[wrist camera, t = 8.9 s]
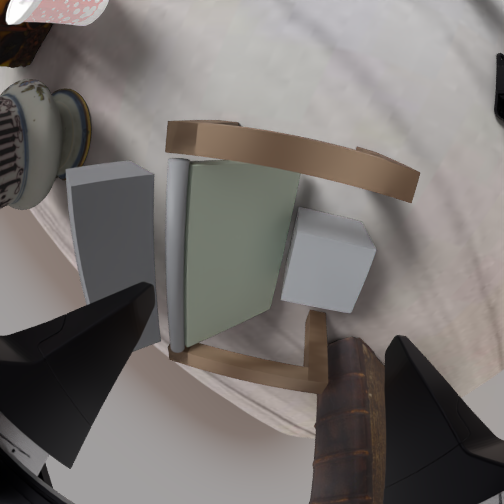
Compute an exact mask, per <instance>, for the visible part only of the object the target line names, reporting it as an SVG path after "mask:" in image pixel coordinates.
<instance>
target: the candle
mask: <svg viewBox="0 0 504 504" xmlns="http://www.w3.org/2000/svg"><path fill="white" fill-rule="evenodd" d="M10 1H11V0H0V66H6V67H11V68H15V67H19V66H23V67H26V66H28V65H30V63H31V61H32V60H33V58H34V56H35V54H36V52H37V50H38V48H39V46H40V45H41V43H42V41H43V40H44V38H45V36H46V34H47V33H48V31H49V29H50V27H51V25H52V24H53V23H46V22H22V23H21V24H12V25H8V23H7V22H6V12H7V9H8V6H9V3H10Z"/></svg>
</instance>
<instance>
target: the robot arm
mask: <svg viewBox="0 0 504 504" xmlns="http://www.w3.org/2000/svg"><path fill="white" fill-rule="evenodd" d="M501 58H502V59H501ZM499 111H500V113H499ZM494 112H495V114H496V116H497V117H499V118H500V119H502V120H503V121H504V55H503V54H502V53H498V54H497V74H496V95H495V106H494ZM154 307H155V291H154V285H153V284H152V283H148V282H144V281H143V282H140V283H138V284H135V285H133V286H130V287H128V288H126V289H123V290H121V291H119V292H116V293H114V294H111V295H109V296H107V297H104V298H102V299H100V300H97V301H95V302H93V303H90V304H88V305H86V306H84V307H81V308H79V309H76V310H74V311H72V312H69V313H67V315H66V314H65V315H62V316H60V317H58V318H55V319H53V320H51V321H48V322H46V323H43V324H40V325H37V326H35V327H31V328H28V329H26V330H23V331H20V332H16V333H14V334H11V335H7V336H0V504H74V503H73V502H71V501H70V500H68V499H67V498H65V497H64V496H62V495H61V494H60V493H58V492H57V491H55V490H54V489H53V487H52V484H51V480H50V477H49V474H48V471H47V467H46V463H45V461H46V460H47V458H48V456H49V455H51V456H52V457H54V458H55V459H56V460H58V461H59V462H60V463H62V464H63V465H65V466H66V467H68V468H69V469H71V467H72V465H73V463H74V461H75V459H76V457H77V455H78V453H79V451H80V449H81V446H82V444H83V443H84V441H85V438H86V437H87V435H88V432H89V431H90V429H91V426H92V424H93V422H94V421H95V418H96V417H97V415H98V413H99V411H100V409H101V407H102V405H103V403H104V402H105V400H106V398H107V396H108V394H109V392H110V391H111V389H112V387H113V385H114V383H115V381H116V380H117V378H118V376H119V374H120V373H121V371H122V369H123V367H124V366H125V364H126V362H127V360H128V359H129V357H130V355H131V353H132V352H133V350H134V348H135V347H136V345H137V343H138V341H139V340H140V338H141V335H142V333H143V331H144V329H145V327H146V324H147V322H148V320H149V318H150V316H151V313H152V311H153V309H154ZM384 395H385V415H386V468H385V486H384V487H385V488H384V497H383V504H504V440H501V439H499V438H498V437H496V436H495V435H494V434H493V433H492V432H491V431H490V430H489V428H488V427H487V426H486V425H485V424H484V423H483V422H482V421H481V420H480V419H479V418H478V417H477V416H476V415H475V414H474V412H473V411H472V410H471V409H470V408H469V407H468V406H467V405H466V403H465V402H464V401H463V400H462V399H461V397H460V396H458V394H457V393H456V391H455V390H454V389H453V388H452V387H451V386H450V384H449V383H448V382H447V381H446V380H445V379H444V378H443V376H442V375H441V374H440V373H439V372H438V371H437V370H436V368H435V367H434V366H433V365H432V364H431V363H430V362H429V361H428V360H427V358H426V357H425V356H424V355H423V354H422V353H421V352H420V351H419V350H418V349H417V347H416V346H415V345H414V344H413V343H412V342H411V341H410V340H409V339H408V338H407V337H406V336H401V335H396V336H395V337H394V338H393V340H392V342H391V343H390V345H389V347H388V348H387V350H386V352H385V380H384Z"/></svg>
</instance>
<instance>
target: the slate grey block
mask: <svg viewBox="0 0 504 504" xmlns="http://www.w3.org/2000/svg"><path fill="white" fill-rule="evenodd" d="M375 253H376V248H375V246H374V244H373V242H372V240H371V238H370V236H369V234H368V232H367V230H366V228H365V227H364V225H363V223H362V221H358V220H354V219H350V218H346V217H342V216H338V215H333V214H329V213H325V212H320V211H316V210H311V209H307V208H302V207H299V208H298V213H297V217H296V222H295V226H294V231H293V235H292V240H291V244H290V248H289V253H288V257H287V261H286V267H285V274H284V281H283V287H282V294H281V300H283V301H288V302H293V303H297V304H302V305H308V306H313V307H318V308H323V309H328V310H334V311H339V312H345V313H350V314H351V312H352V310H353V308H354V305H355V303H356V301H357V298H358V296H359V294H360V291H361V289H362V287H363V284H364V282H365V279H366V277H367V274H368V272H369V269H370V267H371V264H372V261H373V259H374V256H375Z"/></svg>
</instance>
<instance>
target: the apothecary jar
mask: <svg viewBox="0 0 504 504" xmlns="http://www.w3.org/2000/svg"><path fill="white" fill-rule="evenodd" d="M90 138H91V122H90V116H89V112H88V108H87V106H86V103H85V101H84V100H83V98H82V97H81V96H80V95H79V94H78V93H77V92H75V91H74V90H72V89H60V90H57V91H55V92H54V93H52V94H51V92H50V91H49V89H48V88H47V87H46V86H45V85H44V84H43V83H41V82H40V81H37V80H34V79H24V80H21V81H18V82H16V83H14V84H12V85H11V86H9V87H8V88H7V89H6V90H5V91H4V92H3V93H2V94H1V95H0V208H3V207H5V206H7V205H9V206H11V207H13V208H15V209H20V210H26V209H30V208H33V207H35V206H36V205H38V204H39V203H40V202H41V201H42V200H43V199H44V198H45V197H46V196H47V194H48V193H49V191H50V190H51V188H52V186H53V183H54V181H55V178H57V177H59V178H60V179H62V180H66V169H70V168H76V167H82V165H83V163H84V161H85V159H86V156H87V153H88V150H89V146H90Z"/></svg>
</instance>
